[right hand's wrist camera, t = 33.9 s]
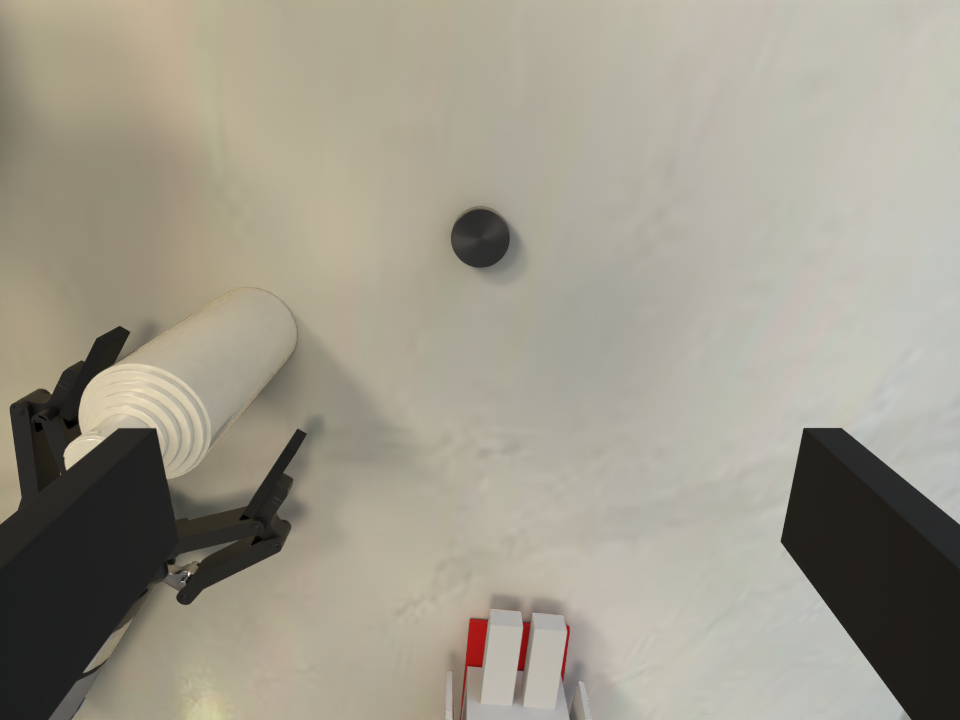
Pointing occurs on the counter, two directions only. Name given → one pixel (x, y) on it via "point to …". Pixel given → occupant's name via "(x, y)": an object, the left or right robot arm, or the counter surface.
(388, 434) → the counter surface
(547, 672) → the toy
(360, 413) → the counter surface
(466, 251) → the cap
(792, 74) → the counter surface
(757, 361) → the counter surface
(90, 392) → the bottle
